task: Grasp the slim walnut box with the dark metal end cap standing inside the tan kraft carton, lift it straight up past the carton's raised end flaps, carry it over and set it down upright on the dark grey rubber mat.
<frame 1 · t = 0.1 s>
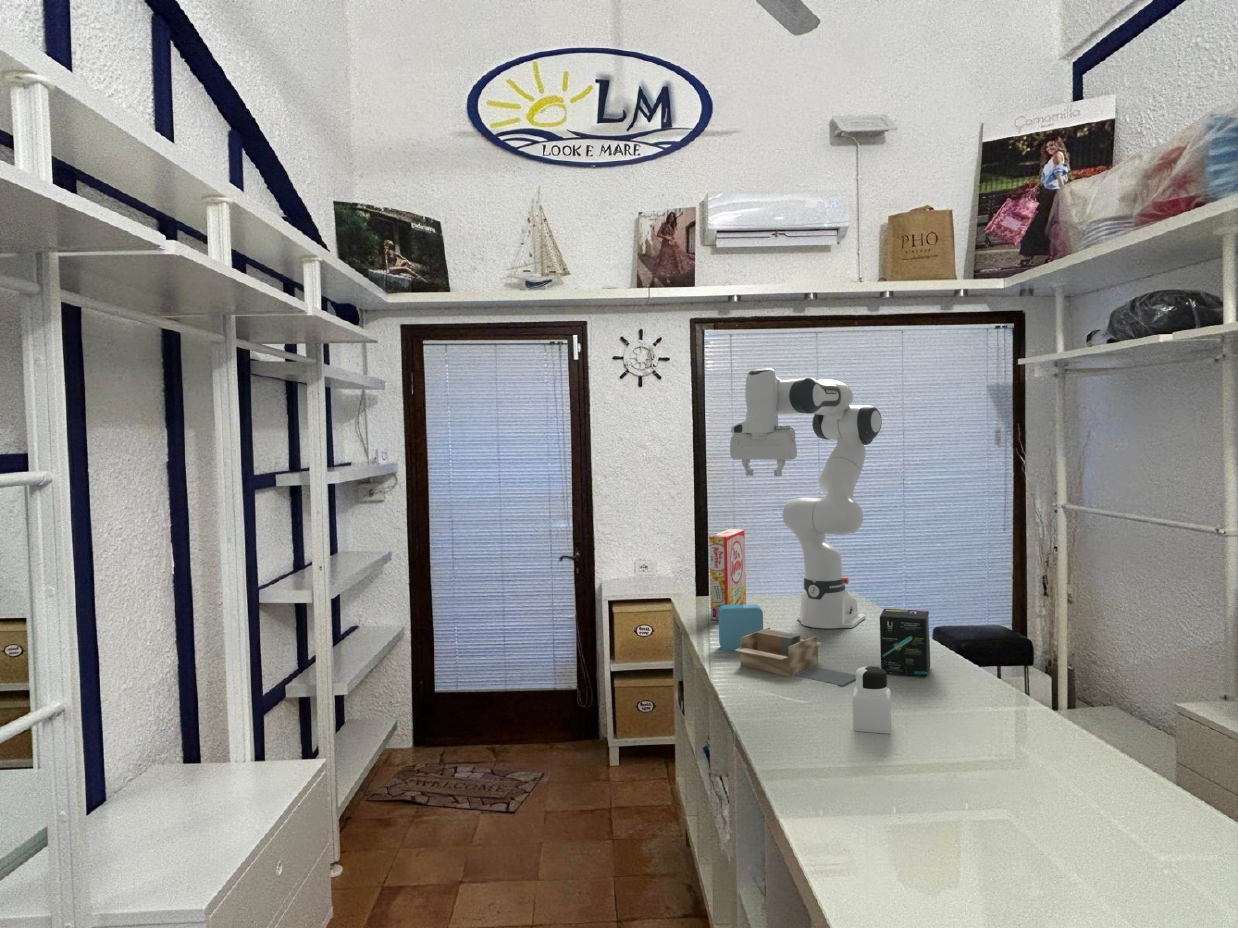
hand: (763, 476, 227), 48 cm above the shop counter, fingers open, 8 cm apart
blue rounded block: (741, 649, 226), on the shop counter
walnut box: (779, 664, 210), resting on carton
popcorn box: (729, 613, 269), on the shop counter
medicine bottle: (872, 727, 166), on the shop counter
mat: (827, 676, 199), on the shop counter
carton: (779, 665, 210), on the shop counter
tampon box: (905, 671, 201), on the shop counter
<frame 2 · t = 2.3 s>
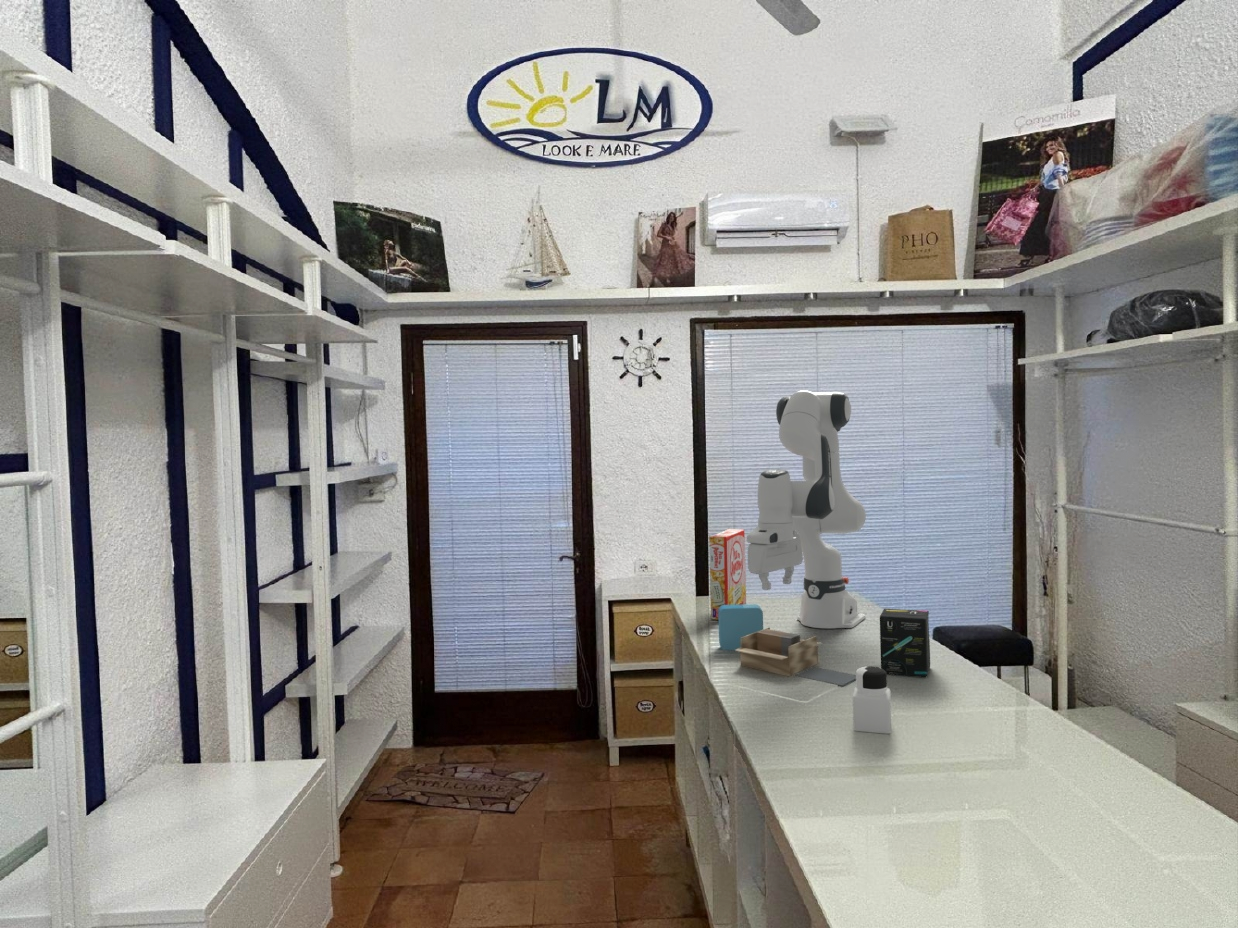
hand: (777, 586, 208), 21 cm above the shop counter, fingers open, 8 cm apart
nothing on the shop counter moved.
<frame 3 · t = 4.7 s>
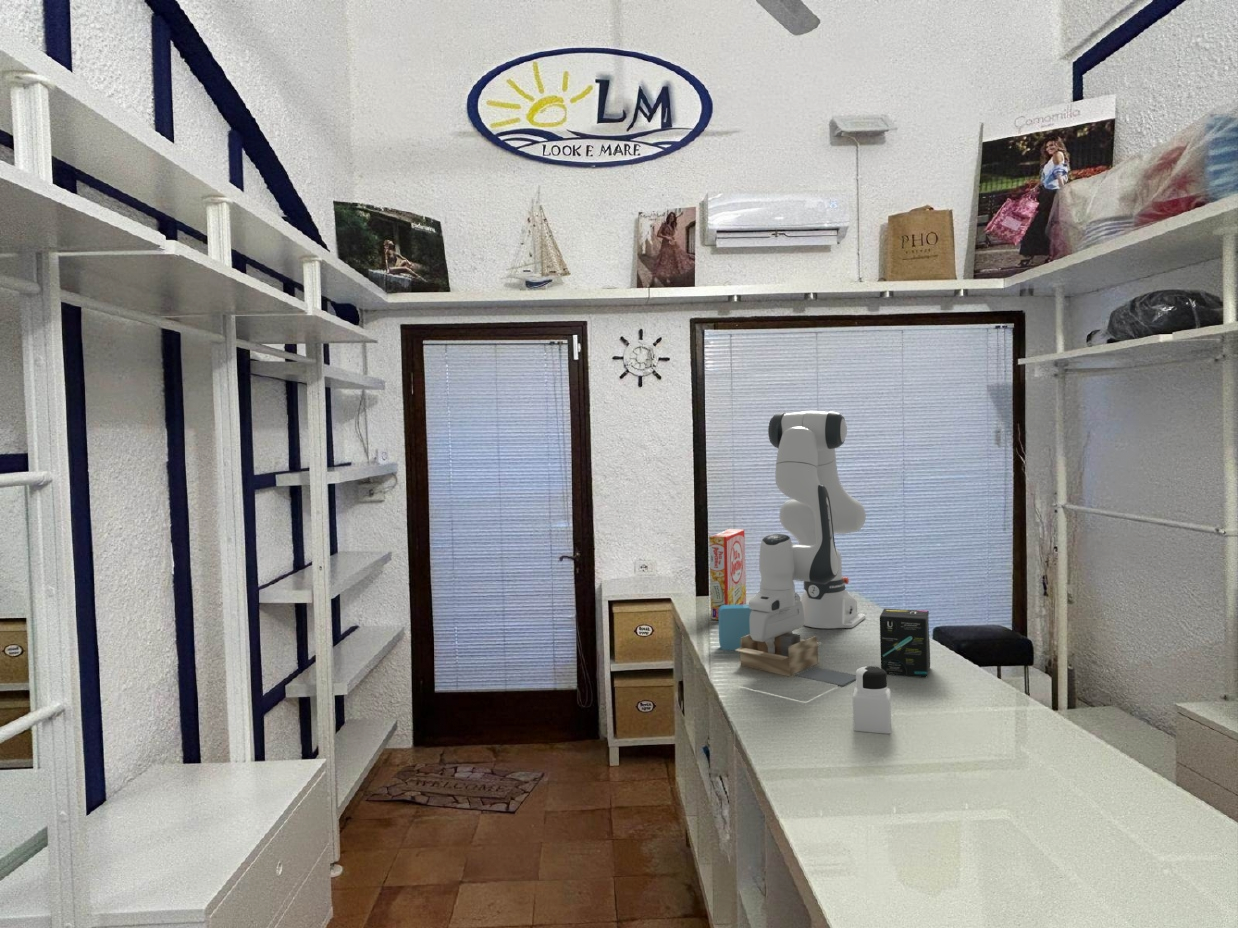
hand: (778, 651, 209), 4 cm above the shop counter, fingers closed on walnut box, 4 cm apart
walnut box: (779, 664, 210), resting on carton, touching gripper
everything else where it was.
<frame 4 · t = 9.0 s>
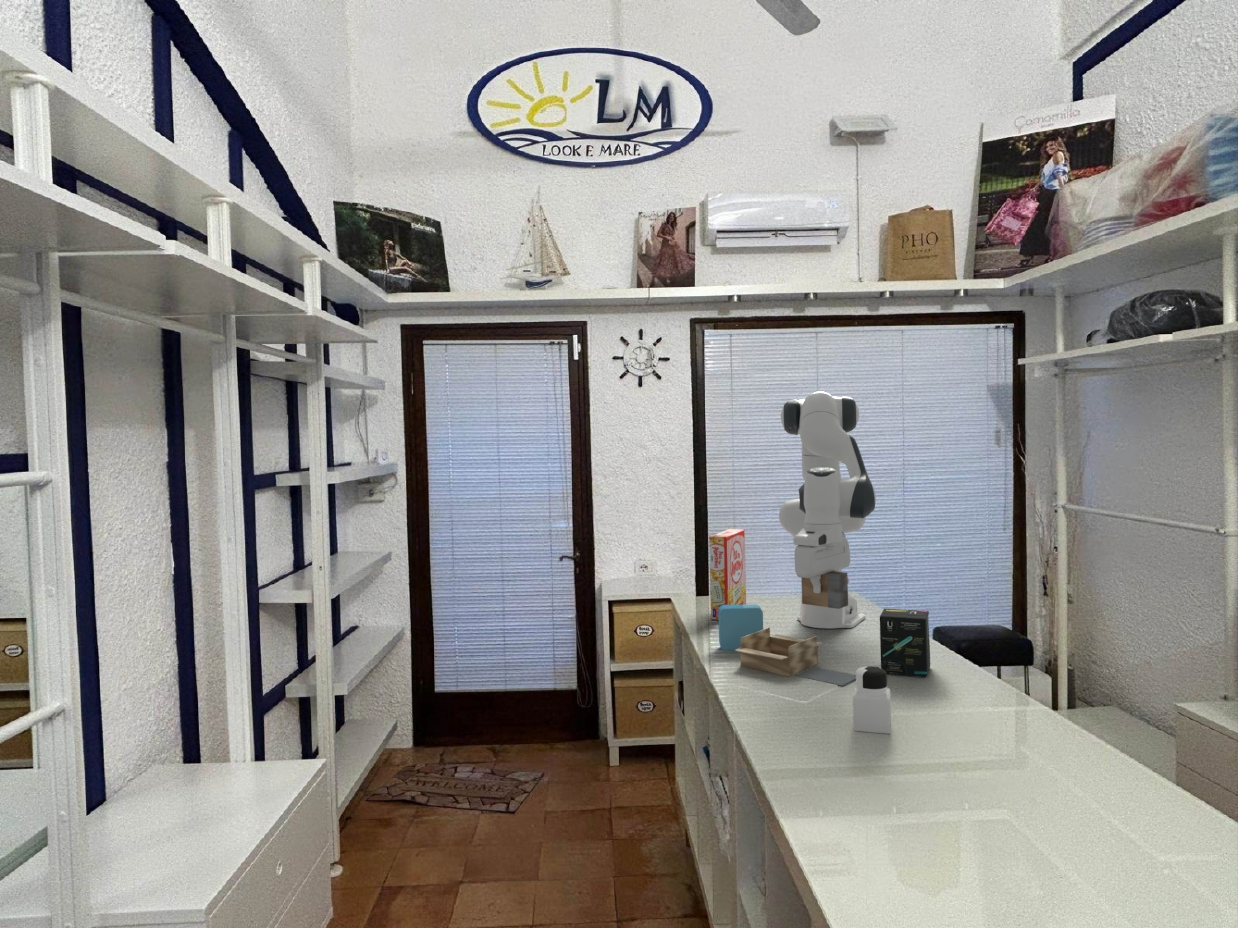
hand: (824, 590, 198), 21 cm above the shop counter, fingers closed on walnut box, 4 cm apart
walnut box: (824, 604, 198), point 18 cm above the shop counter, touching gripper
everything else where it was.
when the fingers open (5 cm above the shop counter, at t = 12.9 s): walnut box drops 2 cm, resting on mat.
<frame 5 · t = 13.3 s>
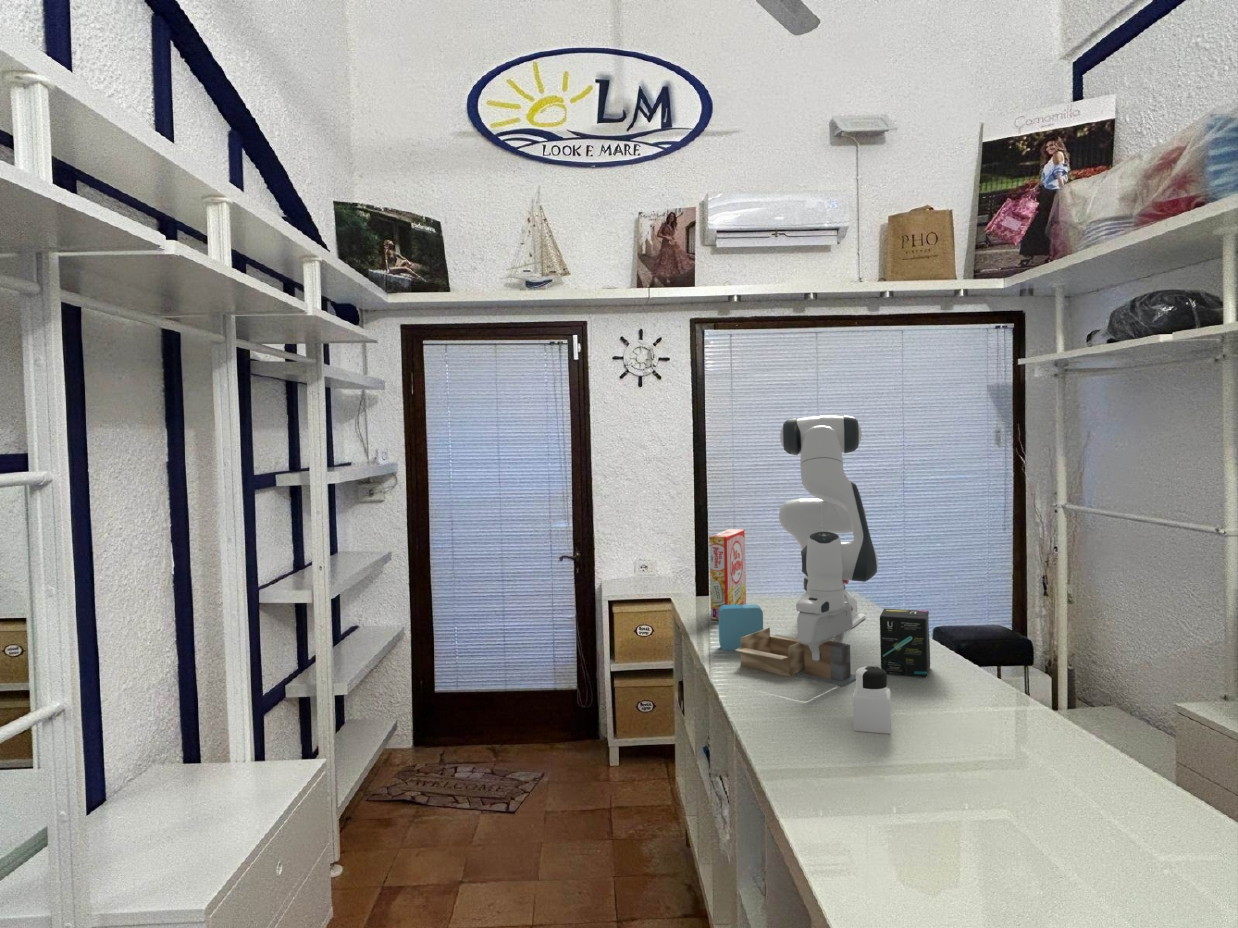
hand: (827, 655, 198), 5 cm above the shop counter, fingers open, 8 cm apart
walnut box: (827, 675, 199), resting on mat
everything else where it was.
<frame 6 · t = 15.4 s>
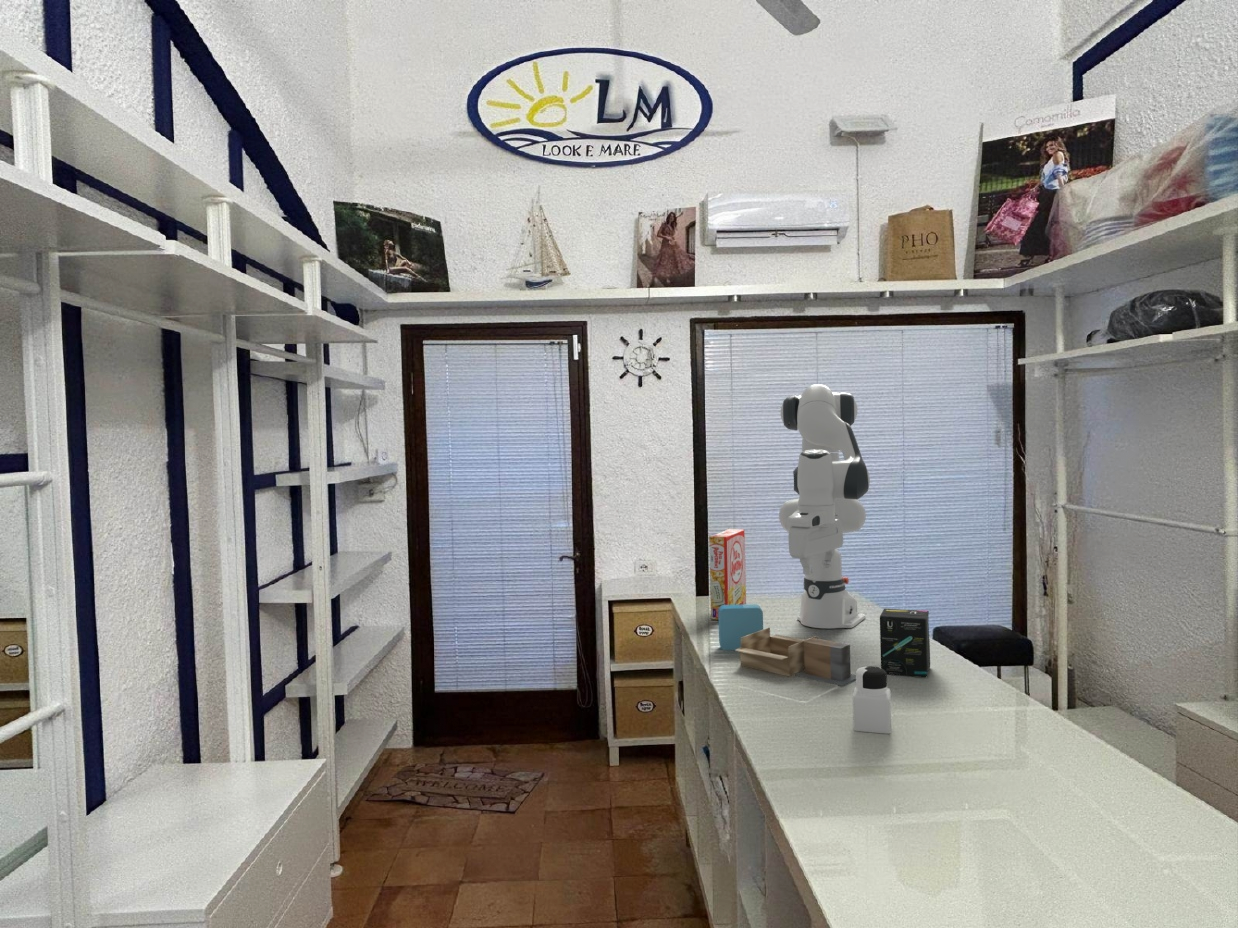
hand: (817, 570, 201), 26 cm above the shop counter, fingers open, 8 cm apart
nothing on the shop counter moved.
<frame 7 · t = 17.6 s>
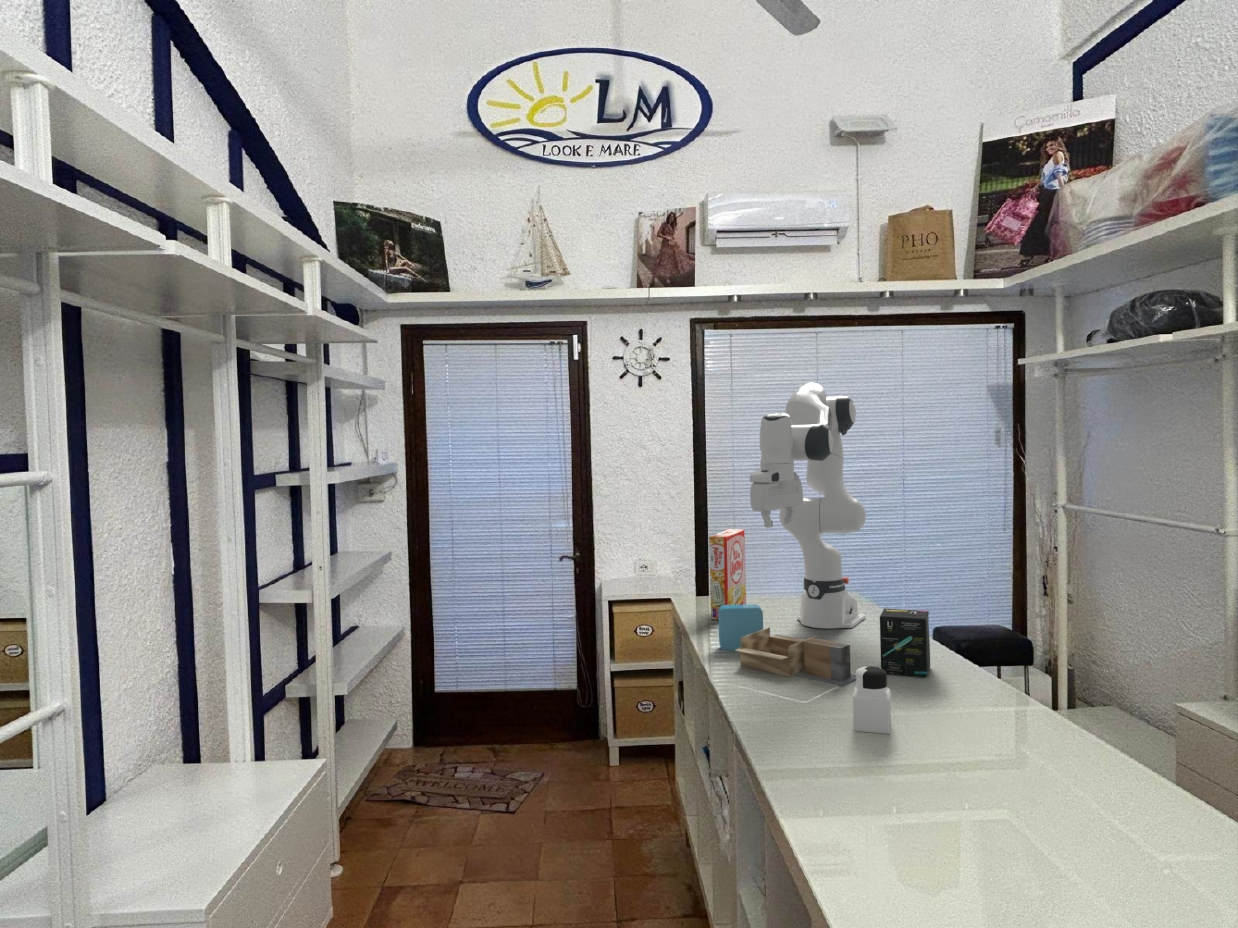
hand: (778, 525, 218), 35 cm above the shop counter, fingers open, 8 cm apart
nothing on the shop counter moved.
at the end: walnut box inside the target area on the mat (0.1 cm from its centre), point 0.4 cm above the mat's base; walnut box tilted 0°; the gripper is holding nothing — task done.
